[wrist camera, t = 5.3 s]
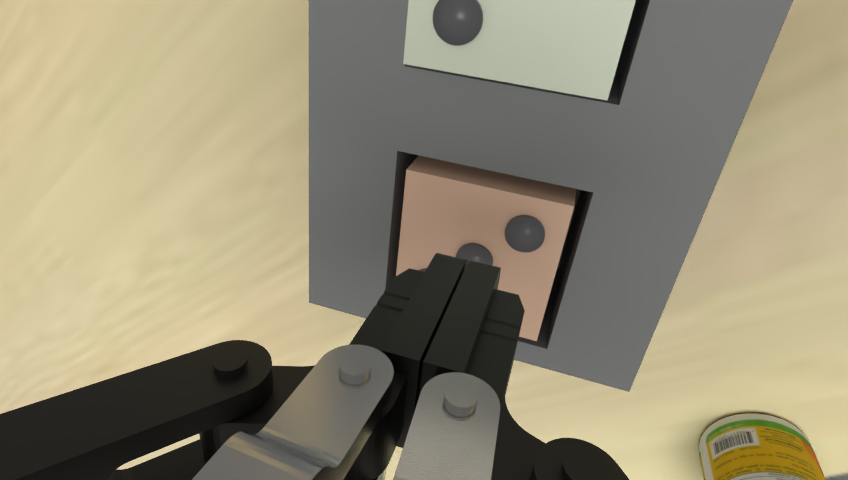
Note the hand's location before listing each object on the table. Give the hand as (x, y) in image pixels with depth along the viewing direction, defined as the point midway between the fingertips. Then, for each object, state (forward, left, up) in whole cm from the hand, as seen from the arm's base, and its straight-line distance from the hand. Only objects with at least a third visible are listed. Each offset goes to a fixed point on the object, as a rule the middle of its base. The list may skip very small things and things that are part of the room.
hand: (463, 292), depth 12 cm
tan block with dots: (+1, +4, -11) cm, 11 cm away
